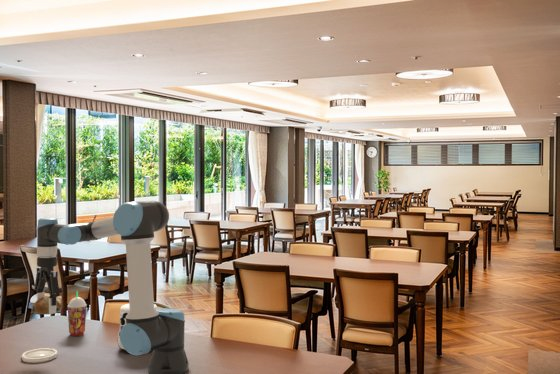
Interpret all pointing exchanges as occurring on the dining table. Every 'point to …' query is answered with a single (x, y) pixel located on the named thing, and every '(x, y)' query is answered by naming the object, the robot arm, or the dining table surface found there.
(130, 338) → the robot arm
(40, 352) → the plate
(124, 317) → the milk container
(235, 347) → the dining table surface
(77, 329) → the smoothie
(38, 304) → the bread roll
